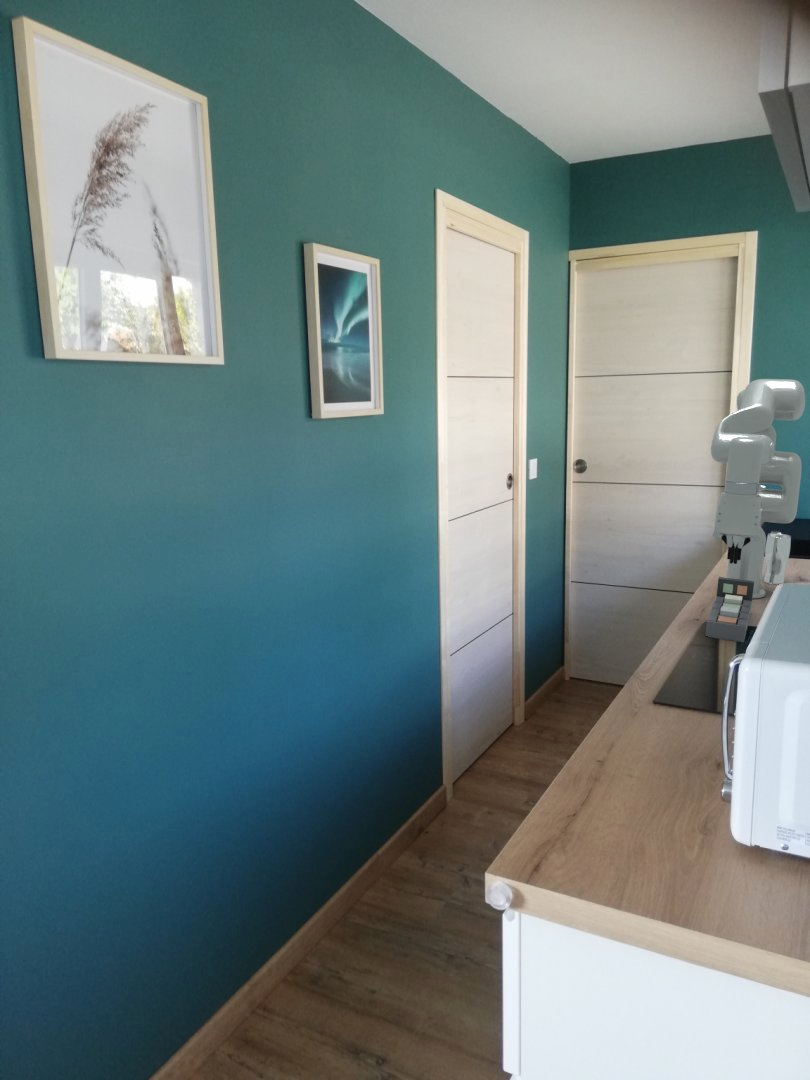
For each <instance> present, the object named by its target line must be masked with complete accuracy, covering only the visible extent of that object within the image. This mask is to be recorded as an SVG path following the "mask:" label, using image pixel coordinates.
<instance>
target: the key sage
mask: <svg viewBox="0 0 810 1080" xmlns="http://www.w3.org/2000/svg"><path fill="white" fill-rule="evenodd" d="M723 606H724V607H731V608H739V611H740V606H741V605H733V604H726V603H723Z"/></svg>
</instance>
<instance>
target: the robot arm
mask: <svg viewBox="0 0 810 1080" xmlns="http://www.w3.org/2000/svg"><path fill="white" fill-rule="evenodd" d="M805 407H806V394H805V387H804V386H803V384H802V383H801V382H800V381H799V380H796V379H789V378H788V379H787V378H785V379H782V378H780V379H779V378H758V379H755V380H752V381H751V382H749V383H748V384H747V385H746V387H745V389H743V390H741V391H740V392H738V395H737V397H736V408H737V410H736V411H734V412H732V413H730V414H729V415H727V416H725V417H724V418H722V419H721V420H720V421H719V423H718V424H717V426H716V428H715V431H714V433H713V438H712V440H711V446H710V454H711V457H712V459H713V460H714V461H715V462H717V463H720V464H726V473H725V479H724V480H725V481H724V491H723V492H722V491H721V492H720V495H719V499H718V504H717V509H716V515H715V519H714V521H715V522H714V531H713V533H712V536H713V538H717V539H719V540H722V541H723V542H724V544H725V545H726V546H727V558H726V559H727V569H726V570H727V571H726V578H732V579H741V580H749V581H754V589H753V597H752V599H760V598H761V599H762V598H764V597H765V596H766V591H765V589H763V588H762V587H761V585H762V578H763V577H762V575H763V569H764V560H765V547H766V541H767V536H766V533H765V531H764V529H763V528H762V526H761V525H762V523H765V522H767V523H773V524H774V523H775V524H790V523H792V522H793V521H795V519H796V516H797V514H798V513H797V512H798V505H799V499H800V498H799V495H800V488H801V487H800V486H801V480H802V468H803V467H802V459H801V457H800V456H799V454H797V453H795V452H792V451H780V450H776V442H777V432H776V430H775V428H774V425H772V424H773V422H774V421H796V420H797V421H798V420H799V419H801V417H802V416H803V413H804V411H805ZM762 484H763V485H762ZM765 485H775V486H776V485H777V486H780V487H781V488H782V489H775V488H774V489H772V488H766V486H765Z"/></svg>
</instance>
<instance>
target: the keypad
mask: <svg viewBox="0 0 810 1080" xmlns="http://www.w3.org/2000/svg"><path fill="white" fill-rule="evenodd" d="M717 580H718V581H717V589H716V597H715V600H713V604H712V607H711V609H710V612H709V614H708V617H707V620H706V626H705V635H706V636H708V637H707V638H711V639H712V638H713V639H719V640H726V641H731V640H733V642H737V643H745V639H746V635H747V631H748V626H749V623H748V621H749V622H750V618H751V614H752V604H753V598H752V597H753V589H754V581H749V580H741V579H732V578H727V577H723V576H719V577H718V579H717ZM726 594H727V595H735V596H743V597H742V604H741V606H740V611H739V614H738V618H737V617H732V618H737V623H736V624H729V623H722V622H717V621H718V618H719V616H723V615H720V610H721V607H722V606H723V603H724V599H725V596H726ZM726 604H731V603H726ZM733 605H739V604H733ZM750 613H751V614H750ZM724 617H730V616H724ZM749 617H750V618H749ZM705 635H704V636H705Z"/></svg>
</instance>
